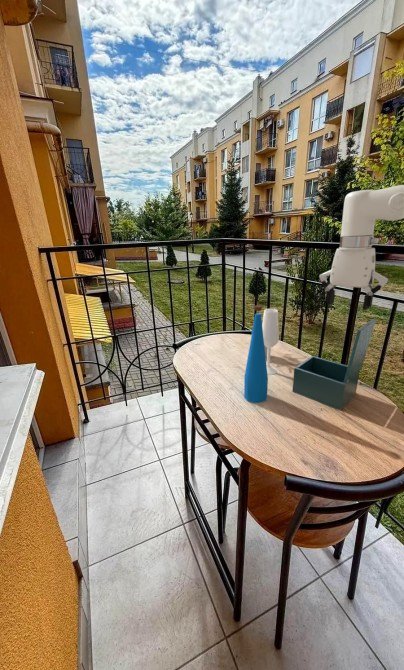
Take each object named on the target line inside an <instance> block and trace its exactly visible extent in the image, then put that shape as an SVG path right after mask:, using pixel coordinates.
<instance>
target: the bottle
mask: <svg viewBox="0 0 404 670" xmlns="http://www.w3.org/2000/svg"><path fill="white" fill-rule="evenodd" d="M253 308H254V310H255V311H256V312H262V310H263V305H258V304H257V305H254V306H253ZM262 322H263V318H262V314H261V313H255V314H254V319H253V325H252V327H253V330H251V332H252V333H251V335H250V336H251V337H250V344H249V349H248V354H247V360H246V365H245V372H244V383H243V384H244V387H243V388H244V389H243V391H244V392H243V398H244V399H245V400H246V401H247V402H249V403H252V404H262V403H264V402H266V401H267V399H268V385H269V375H267V357H266V356H265V347H264V338H263V329H262Z"/></svg>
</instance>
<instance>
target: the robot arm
mask: <svg viewBox="0 0 404 670" xmlns="http://www.w3.org/2000/svg"><path fill="white" fill-rule="evenodd" d="M403 219H404V184H399V185H398V184H397V185H394V186H390V187H385V188H381V189H363V190H356V191H351V192H349V193H347V194H346V195H345V197H344V201H343V210H342V219H341V228H340V237H339V238H340V239H339V245H338V246H339V247H338V248H336V250H335V253H334V257H333V260H332V264H331V269H330V270H328V271H326V272H323V273H320V274H319V276H318V277H319V280H320V282H321V285H322V286H323V288H324V290H325V291H326V297H325V299H326V300H325V301H326V305H327V306H330V305H332V304H334V303H335V295H336V290H335V288H336V287H348V288H358V289H359V288H362V289H363V290H364V292H365V295H364V297H363V305H362V310H363V311H367V310H368V309H370V308H371V307H372V306H373V300H374V294H376V293H377V292H379V291H380V290H382V289H383V287H384V286H385V285H386V284H387V282H388V281H389V279H388V277H385V276H384V275H382V274H380V273H379V272H377V271H376V248H375V247H373V245H376V244H379V241H380V238H379V237H375V235H374V233H375V232H374V231H375V226H376V225H375V224H376V220H381V221H383V220H384V221H388V222H390V221H399V220H403ZM329 276H330V277H329ZM327 277H329V281H328V280H327ZM374 280H376V281H378V283H377V285H375V286H373V285H372V284H374Z"/></svg>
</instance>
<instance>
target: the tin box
mask: <svg viewBox="0 0 404 670" xmlns="http://www.w3.org/2000/svg"><path fill="white" fill-rule="evenodd" d="M347 368H348V364H344V363H339V362H336V361H333V360H332V361H331V360H328V359H325V358H321V357H318V356H316V355H315V356H314V355H311V356H309V357H307V359H305V360H304V361H302V362H301V363H299V364H298V365H297V366H295V367H294V368H293V381H292V391H291V392H293V393H295V394H298V395H300V396H302V397H305V398H308V399H310V400H312V401H315V402H318V403H320V404H323V405H325V406H328V407H330V408H333V409H335V410H338V411H342V409H343V408H344V407H346V405H348V403H349V402H350V400H352V398H353V397H354V396H355V395H356V394H357V389H358V384H359V383H358V382H359V379H360V378H359V377H360V372H361V370H360V371H359V372H358V373H357V374H356V375H355V376H354V377H353V378H352V379H351V380H350V381H349V382H348V383H347V384H346V383H344V379H345V375H346V372H347Z"/></svg>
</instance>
